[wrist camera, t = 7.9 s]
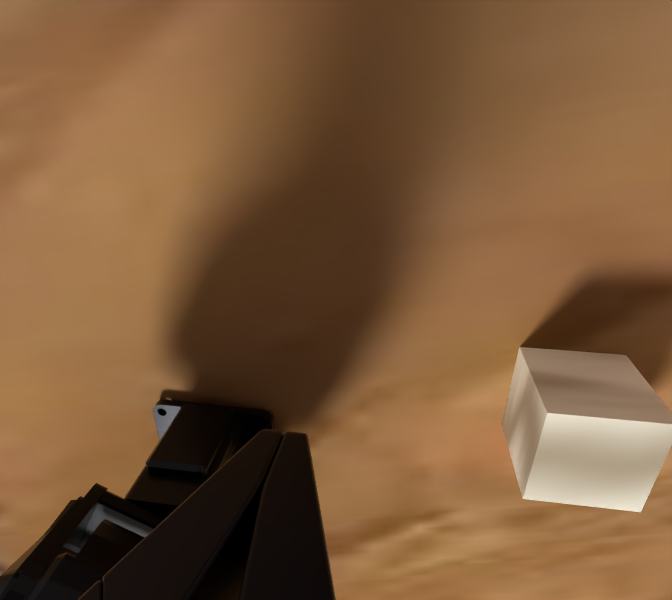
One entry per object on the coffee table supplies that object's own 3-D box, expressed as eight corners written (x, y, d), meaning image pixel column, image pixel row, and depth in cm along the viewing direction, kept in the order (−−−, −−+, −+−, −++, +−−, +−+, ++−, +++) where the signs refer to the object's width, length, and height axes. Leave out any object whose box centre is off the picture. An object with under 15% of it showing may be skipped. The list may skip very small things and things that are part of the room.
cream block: (597, 431, 22) (640, 511, 18) (501, 422, 22) (522, 498, 18) (625, 353, 20) (681, 425, 16) (519, 345, 20) (547, 412, 16)
